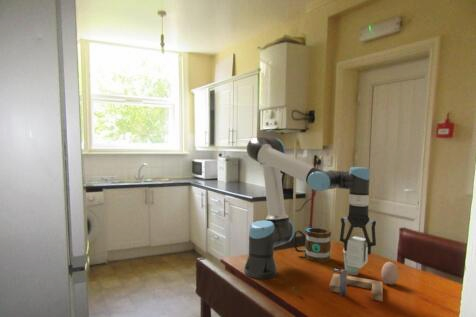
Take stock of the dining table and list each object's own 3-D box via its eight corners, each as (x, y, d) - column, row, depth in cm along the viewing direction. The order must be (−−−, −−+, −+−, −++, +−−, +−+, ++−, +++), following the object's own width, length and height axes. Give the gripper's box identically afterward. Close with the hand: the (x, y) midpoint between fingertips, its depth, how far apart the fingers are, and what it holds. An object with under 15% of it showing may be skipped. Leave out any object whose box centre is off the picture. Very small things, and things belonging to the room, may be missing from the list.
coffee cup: (362, 277, 144) (363, 251, 144) (343, 275, 146) (344, 249, 146) (359, 270, 153) (360, 246, 152) (341, 268, 154) (342, 244, 154)
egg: (378, 283, 137) (379, 261, 137) (384, 279, 142) (385, 258, 142) (394, 288, 133) (395, 266, 132) (400, 284, 137) (401, 262, 137)
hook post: (332, 294, 126) (332, 269, 126) (332, 291, 128) (333, 267, 128) (345, 297, 124) (346, 271, 123) (346, 294, 126) (347, 269, 126)
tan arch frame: (329, 290, 129) (329, 284, 129) (333, 278, 142) (333, 273, 142) (382, 301, 121) (382, 295, 121) (382, 287, 134) (382, 281, 134)
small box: (353, 260, 134) (353, 236, 134) (366, 263, 130) (367, 238, 130) (346, 265, 128) (347, 239, 128) (360, 268, 124) (361, 242, 124)
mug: (330, 256, 173) (331, 229, 173) (329, 264, 161) (330, 235, 160) (295, 251, 180) (295, 225, 180) (291, 259, 167) (292, 231, 167)
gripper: (333, 203, 129) (331, 259, 130) (385, 208, 121) (383, 267, 122) (335, 201, 136) (333, 254, 136) (384, 205, 128) (382, 261, 129)
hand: (356, 260), depth 129 cm, fingers closed on small box, 6 cm apart
